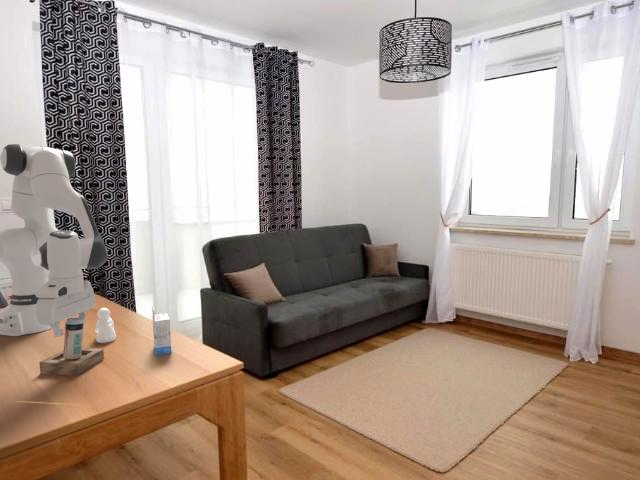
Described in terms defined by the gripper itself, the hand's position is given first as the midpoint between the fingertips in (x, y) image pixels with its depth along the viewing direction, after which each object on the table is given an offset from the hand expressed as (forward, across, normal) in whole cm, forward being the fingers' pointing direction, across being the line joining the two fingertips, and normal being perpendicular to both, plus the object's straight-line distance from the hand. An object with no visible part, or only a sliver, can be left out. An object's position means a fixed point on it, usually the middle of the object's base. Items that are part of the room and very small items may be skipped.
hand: (70, 330), depth 128 cm
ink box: (+12, -15, +21) cm, 28 cm away
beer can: (+9, 0, 0) cm, 9 cm away
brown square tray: (+12, 0, 0) cm, 12 cm away
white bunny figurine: (+12, -22, -4) cm, 25 cm away
